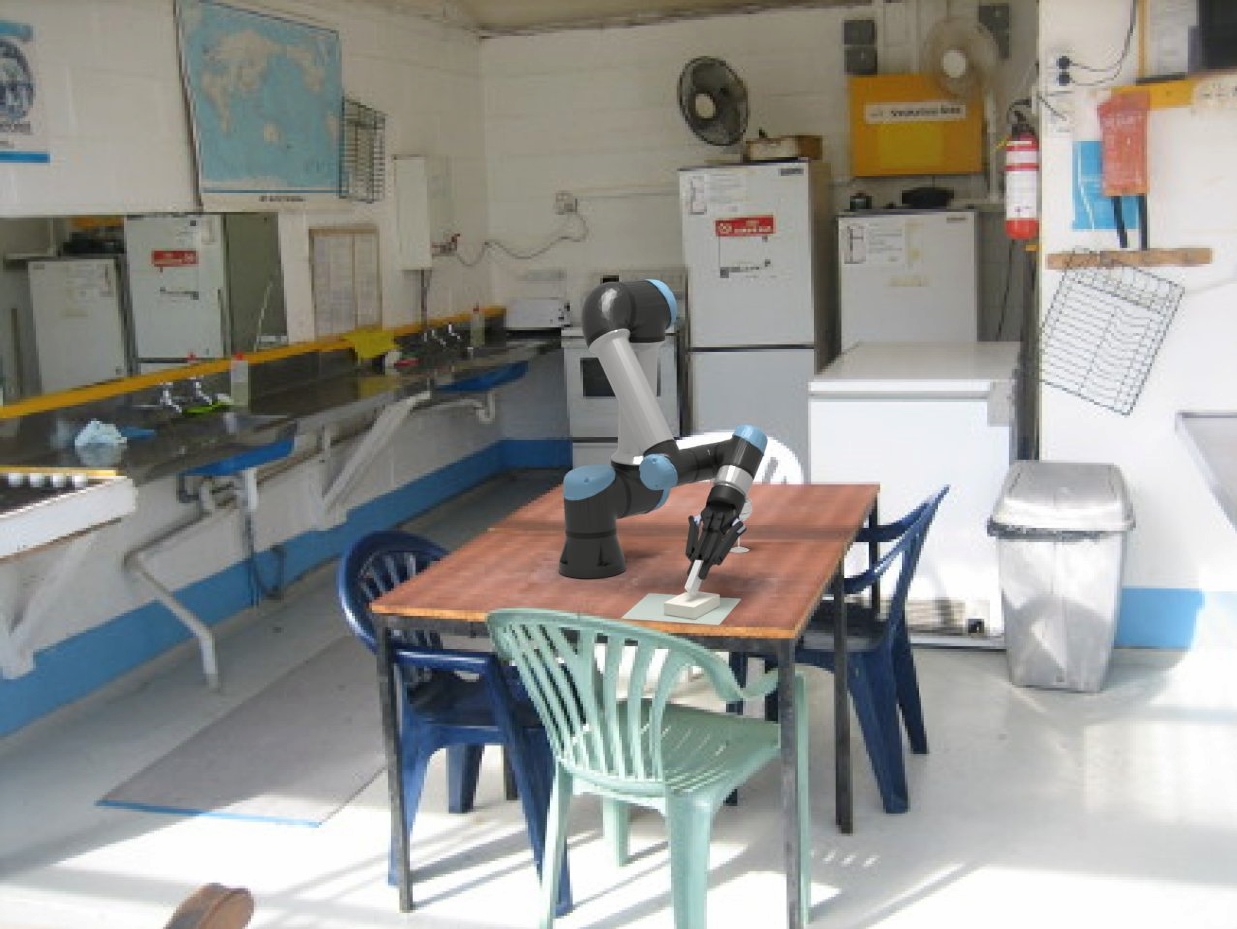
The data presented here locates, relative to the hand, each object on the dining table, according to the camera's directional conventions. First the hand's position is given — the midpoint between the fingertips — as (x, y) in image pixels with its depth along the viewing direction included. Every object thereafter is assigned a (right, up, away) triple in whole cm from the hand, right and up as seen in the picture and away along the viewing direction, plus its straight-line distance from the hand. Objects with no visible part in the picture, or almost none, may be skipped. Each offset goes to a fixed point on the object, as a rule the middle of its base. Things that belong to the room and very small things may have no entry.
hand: (690, 591), depth 264 cm
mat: (-1, -4, +4) cm, 6 cm away
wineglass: (+14, +5, +51) cm, 53 cm away
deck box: (+3, -2, +6) cm, 7 cm away
